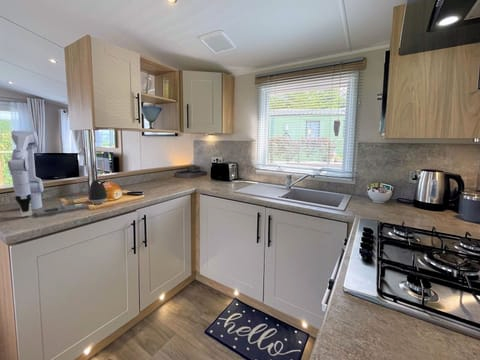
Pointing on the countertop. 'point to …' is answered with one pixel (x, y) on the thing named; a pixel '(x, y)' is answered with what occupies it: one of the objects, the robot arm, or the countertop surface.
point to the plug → (26, 212)
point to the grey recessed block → (61, 209)
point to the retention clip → (63, 201)
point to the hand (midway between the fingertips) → (25, 210)
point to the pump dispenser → (97, 192)
